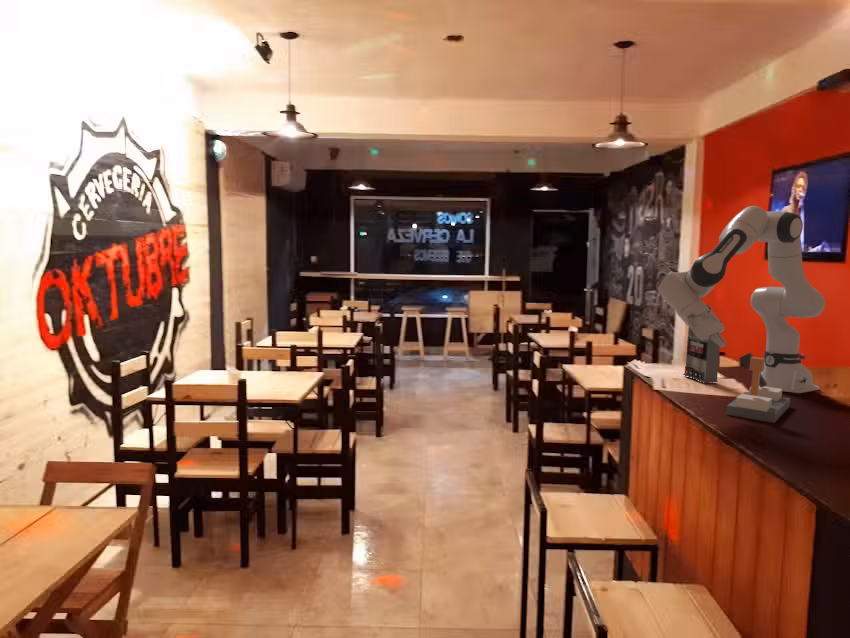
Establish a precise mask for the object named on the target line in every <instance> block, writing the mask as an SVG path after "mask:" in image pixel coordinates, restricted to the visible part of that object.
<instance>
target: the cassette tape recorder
mask: <svg viewBox="0 0 850 638" xmlns="http://www.w3.org/2000/svg"><path fill="white" fill-rule="evenodd" d="M720 322H721V323H722V324H723V321H722V320H720ZM687 329H688V330H687V331H688V332H687V341H686V343H687V344H686V356H685V366H684V373H683V375H685V376H689V377H692V378H694V379H697V380H699V381H701V382H700V383H702V382H704V383H706V384H709V383H708V382H717V383H718V373H719V360H720V349H721V348H720V347H719V346H718V345H717V344H716V343H715V342H713V341H712V340H711V339H710V338H708V339H706V340H703V341H702V340H700V339H699V338H698V337H697V336H696V335H695V333H694V332H693V331H692V330H691V328H690V327H689V326H688V328H687ZM720 334H721V335H722V332H721V333H720ZM685 376H684V377H685ZM699 381H698V382H699ZM704 383H703V384H704Z"/></svg>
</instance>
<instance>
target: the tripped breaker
mask: <svg viewBox="0 0 850 638" xmlns="http://www.w3.org/2000/svg"><path fill="white" fill-rule="evenodd" d="M764 364H765V358H764V357H758V356H753V357H751V358H750V368H748V369H749V371H750V370H751V371H753V373H751V375H752V376H751V386H750V387H751V395H753V396H757V395H758V393H759V382H760V373H761V372H762V371H764ZM751 371H750V372H751Z"/></svg>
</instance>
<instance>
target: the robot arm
mask: <svg viewBox="0 0 850 638" xmlns="http://www.w3.org/2000/svg"><path fill="white" fill-rule="evenodd" d="M803 225H804V223H803V219H802V218H801V217H800V216H799V215H798V214H796V213H794V212H788V211H787V212H783V211H775V210H773V211H772V210H770V211H766V210H765V209H764V208H762V207H760V206H758V205H750V206H747V207H745V208H743V209H742V210H741V211H740V212H738V213H737V214H736V215H735V216H734V217H732V219H731V220H730V221H729V222H728V223H727V225H726V226H725V227H724V228H723V230H722V231H721V233H720V235H719V237H718V243H717V245H716V246H715V247H714V248H713V249H712V251H710V252H708V253H706V254H704V255H701V256H699V257H698V258H696V259H695V261H693V263H692V266H691V267H690V269H689V270H687V271H682V272H679V271H676V272H674V271H670V272H668V273H666V274H665V275H664V276H663V278H661V280H660V281H659V283H658V285H657V290H658V292H659V294H660V296H661V297H662V299H664V300H665V302H666V303H667V304H668V305H669V307H671V308H673V309H674V311H675V312H676V314H677V316H678V317H679V318H680V319H681V320H682V322H684V323H685V325H686V326H688V327H690V328H691V330H692V331H693V332H694V333H695V335H696V336H697V337H698V338H699V339H700V340H702V341H703V340H706V339H708V338H710V339H711V340H712V341H713V342H715V343H716V344H717V345H718V346H719V347H720V349H721V348H724V347H725V346H727V342H726V341H725V340H724V337H723V336H722V332H724V331H725V330H726V328H725V326H724V324H723V322H722V323H721V322H720V321H721V320H720V319H719V318H718V317H717V315H716V313H714V312H713V308H712V307H711V306H710V305H709V304H706V303H705V302H704V301H703V300H702V299H701V298H704V297H705V296H707V295H709V294H710V292H712V290H713V289H714V288H715V287H716V286H717V284H718V283H720V281H722V279H723V278H724V277H725V274H726V272H727V265H728V263H729V262H730V261H731V260H732V259H733V257H734V256H735V255H742V254H743V253H745V252H747V250H748V249H750V248H751V247H752V246H753V245H754V244H755V243H756V242H761V243H767V260H768V261H767V263H768V273H769V275H770V277H771V278H772V279H773V280H775V281H777V282H779V283H780V284H781V285H782V287H781V286H764V287H758V288H755V290H753V292H752V294H751V297H750V301H749V302H750V306H751V308H752V310H753V311H755V313H757V314H758V315H759V317H760V318H761V320H762V321H763V324H764V325H765V330H766V331H765V332H766V343H765V345H766V346H765V350H764V353H763V358H765V364H764V371H762V372H760V373H761V375H762V377H763V378H764V380H765V381H766V383H767V385H766V386H765V387H772V388H779V389H782V392H788V393H793V394H794V393H795V394H802V393H808V392H814V391H818V390H820V386H818V385H816V384H814V375H813V373H812V372H811V371H810V370H809V369H808V368H807V367H806V366H805V365H803V364H802V360H806V359H807V354H805V353H799V350H800V342H801V335H800V332H799V330H797V328H795V327H793V326H792V325H790V324H789V323H788V321H787V317H789V318H799V319H800V318H801V319H810V318H816V317H819V316H820V315H821V314H822V313H823V311H824V310H825V307H826V301H825V298H824V297H825V296H824V295H823V294H822V292H820V291H818V290H817V289H816V288H815V287H813V285H811V283H810V282H809V280H808V279H807V277H806V275H805V272H804V267H803V265H804V264H803V254H802V253H803V252H802V249H803V248H802V241H801V234H802V233H803ZM720 333H721V334H720ZM759 386H760V385H759Z"/></svg>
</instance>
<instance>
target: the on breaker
mask: <svg viewBox="0 0 850 638" xmlns="http://www.w3.org/2000/svg"><path fill="white" fill-rule="evenodd" d="M751 357H754V355H753V354H752V352H748V353H746V354H745V355H742V356H740V357H739V358H738V359H739V361H740V363H741V364H742V365H743V367H744V369H746V368H748V369H749V368H750V358H751ZM749 371H750V373H751V374H752V373H753V371H751V370H749ZM759 385H760V387H764V386H766V385H767V383H766V381H765V380H764V378H763V377H762V375H761V372H760V382H759Z"/></svg>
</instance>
